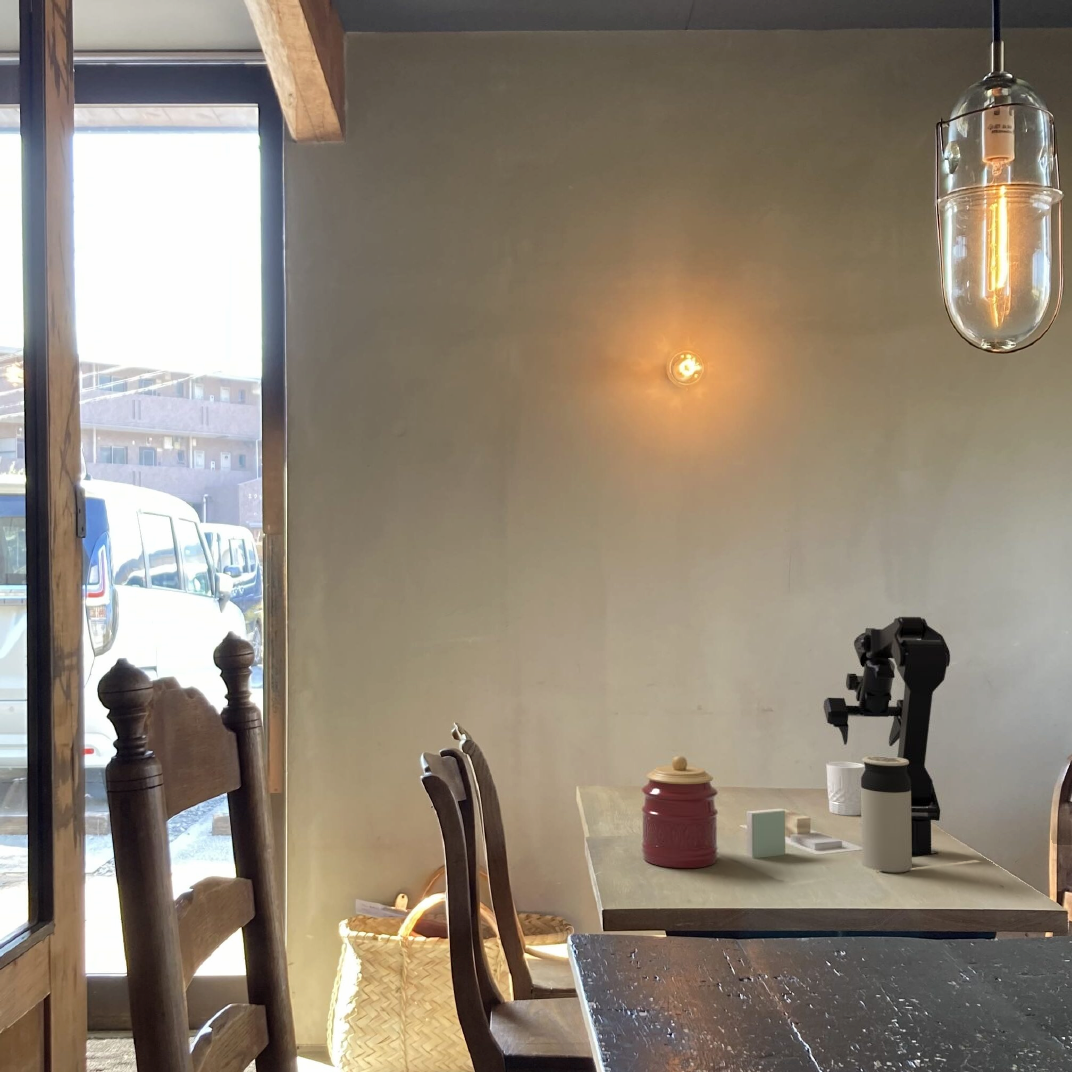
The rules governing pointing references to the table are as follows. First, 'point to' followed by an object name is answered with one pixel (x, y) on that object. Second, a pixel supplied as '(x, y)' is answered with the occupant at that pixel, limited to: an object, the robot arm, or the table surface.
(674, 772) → the canister
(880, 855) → the travel mug
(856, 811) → the white cup
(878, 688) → the robot arm
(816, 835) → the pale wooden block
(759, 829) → the tile
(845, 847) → the mat
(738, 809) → the table surface
